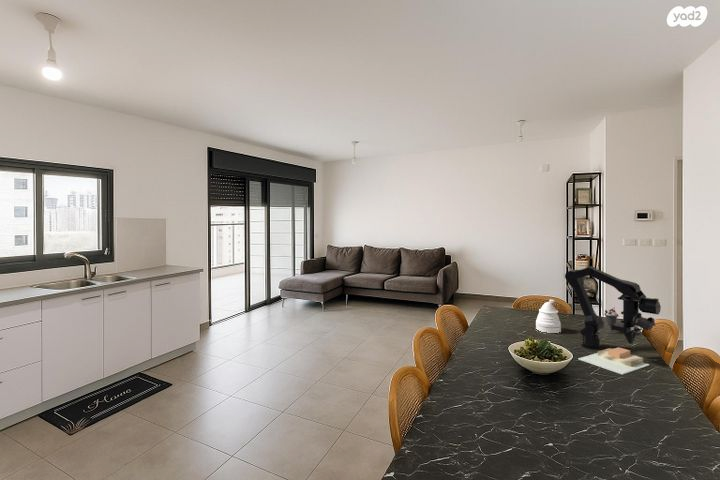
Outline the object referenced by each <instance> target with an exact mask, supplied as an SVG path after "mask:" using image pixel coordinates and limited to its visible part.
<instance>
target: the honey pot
mask: <svg viewBox="0 0 720 480" xmlns="http://www.w3.org/2000/svg"><path fill="white" fill-rule="evenodd" d="M554 303H555V300H554V299H549V301H546V302H544V303H543V304H542V306H541V307H540V308H539V309H538V311H539V312H538V314H537V317H536V320H535V330H536V329H537V330H539V331H541V332H547V333H558V334H560V333H561V332H562V322H561V321H560V318H559V315H558V313H559V310H557V309H556V308H555V307H554V305H553V304H554ZM537 330H536V331H537ZM541 332H540V333H541ZM559 332H560V333H559Z"/></svg>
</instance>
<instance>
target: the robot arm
mask: <svg viewBox="0 0 720 480" xmlns="http://www.w3.org/2000/svg"><path fill="white" fill-rule="evenodd" d="M587 276H589V277H592V278H594V279H596V280H597V281H600V282H603V283H605V284H607V285H609V286H610V287H613V288H614V289H615V290H617V291H618V292H619V293H620V294H621V295H620V296H619V297H617V299H618V300H622V301H623V302H622V309H623V310H622V311H620V314H621V315H622V318H623V319H622V320H620V322H616V323H615V324H613V325H612V330H613V331H615V332H621V333H623V335H624V337H625V339H626V340H627V342H628V344H633V343H634V342H635V341H634V340H635V337H636V336H637V333H638V332H640V331H642V330H643V331H646V332H647V331H651V330H652V329H653V327H654V326H656V322H655V318H654V317H652V316H651V317H648V318H647V317H643V316H642V313H646V314H651V315H652V314H653V315H660V313H661V309H662V308H661V307H662V306H661V304H660V301H659V298H650V297H647V296H646V294H645V293H644V292H643V291H642V290H641V286H640V284H638V283H636V282H634V281H630V280H625V279H620V278H618V277H615V276H613V275H611V274H609V273H606V272H604V271H602V270H600V269H598V268H596V267H595V266H588V267H587V266H586V267H585V268H582V269H579V270H578V269H572V270H569V271H567V272H566V273H565V274H564V278H565V280H566V282H567V283H568V285H569V286H570V287H571V288H572V289H573V291H574V293H575V295H576V298H577V301H578V303H579V306H580V309H581V311H582V313H583V315H584V316H583V317H584V319H583V323H584V328H582V329H581V330H580V334H581V336H582V343H581V344H580V346H581V347H584V348H587V349H590V350H596V349H599V348H601V347H602V346H601V345H600V338H599V334H600V333H601V332H602V331H603V330H604V328H605V322H604V321H603V317H602V316H601V315H599V316H598V315H597V314H596V312H595V311H594V309H593V308H594V307H593V306H592V303H591V301H590V298H589V296H588V294H587V291H586V289H585V286H584V282H585V280H584V277H587ZM639 311H641V312H639Z"/></svg>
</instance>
